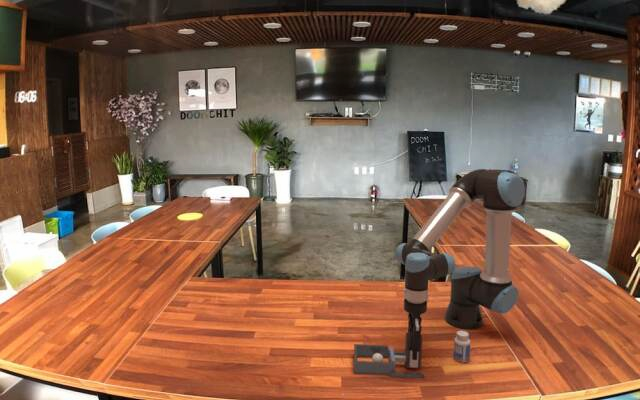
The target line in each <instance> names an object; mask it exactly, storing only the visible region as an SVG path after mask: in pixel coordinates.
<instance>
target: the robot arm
mask: <svg viewBox="0 0 640 400" xmlns="http://www.w3.org/2000/svg"><path fill="white" fill-rule="evenodd" d="M448 193H449V194H448V195H447V196H446V198H445V199H444V200H443V201H442V202H441V203H440V205H439V206H438V207H437V209H436V210H435V211H434V212H433V214H432V215H430V217H429V218H428V219H427V221H425V223H424V224H423V225H422V227H421V228H420V229H419V231H417V233H416V234H415V235H414V236H413V238H411V240H410V242H409V243H405V242H403V243H401V244H399V245H398V246H397V247H396V249H395V253H394V255H395V258H396V260H397V261H398V263H401V264H403V265H404V271H405V273H404V288H403V289H402V292H403V293H404V300H403V309H404V311H405V312H406V313H408V314H407V316H408V317H407V318H408V321H407V322H408V324H407V326H408V327H407V333H411V348H409V351H410V367H414V368H413V369H416V368H418V354H419V352H420V339H421V336H422V328H423V326H422V323H423V322H422V319H423V318H422V317H421V315H424V314H425V313H426V312H427V310H428V309H427V308H428V301H427V300H428V294H429V293H428V292H429V281H432V280H434V279H438V278H443V277H447V276H448V275H451V279H450V281H451V282H450V299H449V300H450V301H449V303H448V305H447V307H446V310H445V312H444V320H445V322H446V323H448V324H449V325H451V326H453V327H456V328H459V329H465V330H473V329H478V328H481V327H482V326H483V323H484V322H483V321H484V319H483V318H484V317H483V314H482V310H481V307H484V308H486V309H488V310H490V311H492V312H494V313H498V314H501V315H503V314H507V313H508V312H510V311H511V310H512V309H513V308H514V306H515V305H516V303H517V302H518V298H519V289H518V288H517V287H516V286H515V284H514V285H513V277H512V275H510V274H509V268H510V249H511V237H512V236H511V234H512V217H513V213H514V212H515V211H516V210H517V208H518V206H520V205H521V204H522V203H523V202H524V199H525V197H526V196H525V195H526V186H525V182H524V180H523V179H522V178H521V176H520V175H518V174H516V173H513V172H509V171H502V170H493V169H492V170H491V169H485V168H482V169H479V168H478V169H475V170H472V171H469V172H468V173H466V174H464V175H463V176H462V177H460V178H459V179H458V180H457V181H456V182H455V183H454V184H453V185H451V187H450V188H449V189H448ZM476 200H480V201H482V207H483V210H485V211H486V225H485V226H486V227H485V228H486V229H485V230H486V231H485V246H484V250H485V251H484V267H483V268H484V269H483V270H482V269H481V268H479V267H477V266H468V265H467V266H458V267H456V266H457V264H456V260H455V258H454V257H453V256H452V255H451V254H450V253H446V252H444V253H439V254H437V253H435V252H431V250H432V249H433V247H434V246H435V244H436V243H437V242H438V241H439V240H440V238H442V236H443V235H444V234H445V232H446V231H447V230H448V229H449V227H450V226H451V225H452V223H453V222H454V221H455V220H456V219H457V217H458V216H459V214H461V212H462V211H463V210H464V209H465V208H466V207H469V206H470V205H471V204H472V203H473V202H474V201H476Z"/></svg>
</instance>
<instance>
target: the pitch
mask: <svg viewBox="0 0 640 400" xmlns="http://www.w3.org/2000/svg"><path fill="white" fill-rule="evenodd" d="M375 353H379V354H381V355H382V356H383V358H389V346H388V345H387V344H386V345H385V344H358V343H356V344H353V374H362V375H363V374H365V375H381V376H382V375H384V376H385V375H386V376H390V377H391V378H411V379H412V378H413V379H417V378H418V379H425V373H424V372H407V371H406V372H405V371H395V372H391V363H390V361H389V362H388V361H383V362H372V361H369V360H367V361H366V360H365V361H364V360H358V357H371V358H372V356H373V355H374V354H375ZM394 355H402V356H405V351H394Z"/></svg>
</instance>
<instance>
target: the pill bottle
mask: <svg viewBox="0 0 640 400" xmlns="http://www.w3.org/2000/svg"><path fill="white" fill-rule="evenodd" d="M469 335H470V334H469V332H467V331H465V330H458V331H456V337H454V342H453V359H454V360H455V361H457V362H459V363H467V362H469V361H470V356H471V354H470V353H471V339H469Z"/></svg>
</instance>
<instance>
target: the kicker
mask: <svg viewBox="0 0 640 400" xmlns="http://www.w3.org/2000/svg"><path fill="white" fill-rule="evenodd" d="M409 348H411V333H408V332H405V348H404V352H405V356H402V355H394V347H393V346H388V351H389V356H388V359H389V362H390V363H391V369H390V372H396V363H404V366H405V368H406V369H416V370H417V369H419V370H420V369H422V358H423V357H422V355H423V354H422V353H423V336H422V335H421V339H420V352H419V354H418V368H414V367H410V351H409Z"/></svg>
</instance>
